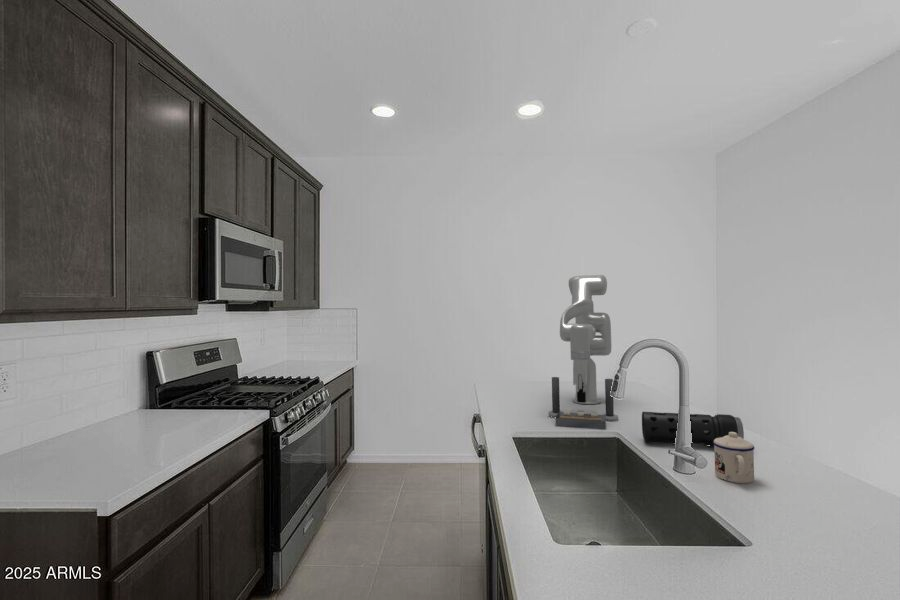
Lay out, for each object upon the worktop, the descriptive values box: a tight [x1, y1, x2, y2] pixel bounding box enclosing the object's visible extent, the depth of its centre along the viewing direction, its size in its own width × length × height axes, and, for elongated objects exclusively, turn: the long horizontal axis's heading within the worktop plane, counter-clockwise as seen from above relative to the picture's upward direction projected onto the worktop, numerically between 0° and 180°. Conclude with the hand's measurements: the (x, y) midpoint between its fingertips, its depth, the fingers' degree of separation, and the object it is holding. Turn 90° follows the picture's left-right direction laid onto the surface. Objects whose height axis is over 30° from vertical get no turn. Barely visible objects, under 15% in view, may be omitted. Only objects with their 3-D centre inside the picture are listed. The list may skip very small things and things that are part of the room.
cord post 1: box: [547, 376, 564, 418], centre depth 186 cm, size 6×6×16 cm
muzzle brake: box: [641, 411, 745, 446], centre depth 145 cm, size 10×28×10 cm, turn 72°
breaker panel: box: [554, 409, 607, 430], centre depth 172 cm, size 10×18×5 cm, turn 70°
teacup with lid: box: [713, 432, 755, 484], centre depth 115 cm, size 12×9×12 cm
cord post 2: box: [601, 378, 619, 422], centre depth 179 cm, size 6×6×16 cm
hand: (581, 401), depth 179 cm, fingers closed
